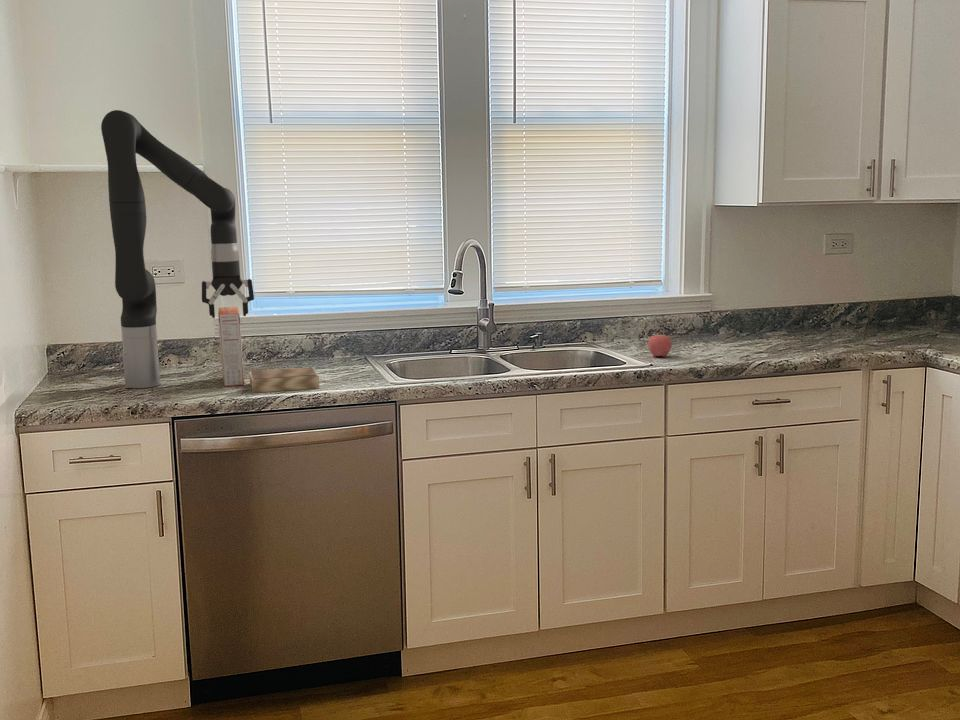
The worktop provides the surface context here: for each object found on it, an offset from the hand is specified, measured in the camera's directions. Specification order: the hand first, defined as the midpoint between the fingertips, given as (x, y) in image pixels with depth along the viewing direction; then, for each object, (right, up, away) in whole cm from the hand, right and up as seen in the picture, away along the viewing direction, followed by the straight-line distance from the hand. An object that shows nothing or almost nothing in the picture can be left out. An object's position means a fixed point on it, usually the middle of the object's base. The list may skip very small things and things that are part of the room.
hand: (229, 316), depth 262 cm
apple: (+129, -12, +36) cm, 135 cm away
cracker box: (0, -19, +3) cm, 19 cm away
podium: (+16, -20, -3) cm, 26 cm away
